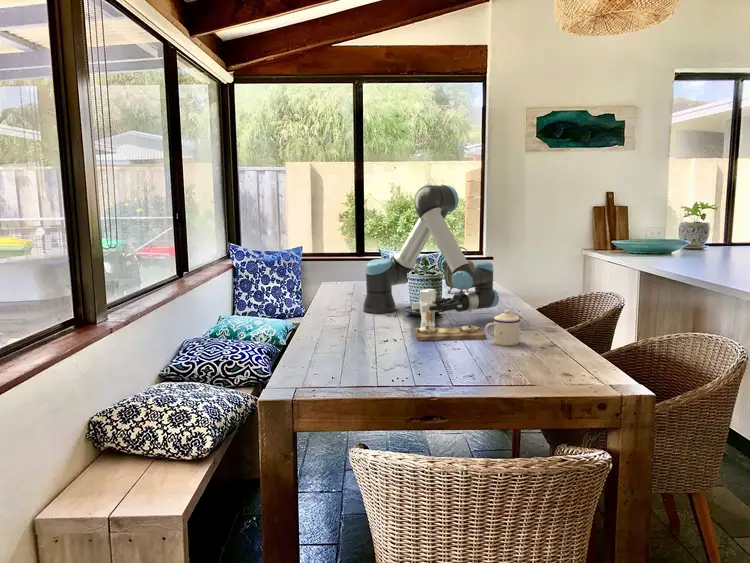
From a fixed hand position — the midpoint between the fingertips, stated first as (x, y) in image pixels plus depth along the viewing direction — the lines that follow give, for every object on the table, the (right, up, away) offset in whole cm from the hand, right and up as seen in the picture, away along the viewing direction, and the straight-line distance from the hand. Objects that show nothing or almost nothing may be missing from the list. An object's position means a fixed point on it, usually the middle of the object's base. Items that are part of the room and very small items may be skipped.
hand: (417, 307), depth 220 cm
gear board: (+11, -10, -10) cm, 18 cm away
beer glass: (+5, -8, +4) cm, 10 cm away
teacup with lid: (+28, -12, -22) cm, 38 cm away
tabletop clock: (+29, +4, +79) cm, 85 cm away
